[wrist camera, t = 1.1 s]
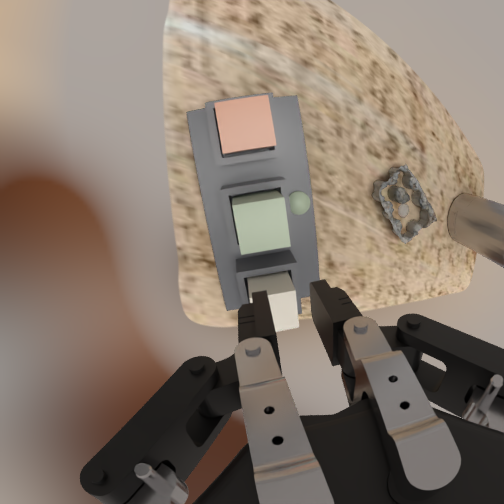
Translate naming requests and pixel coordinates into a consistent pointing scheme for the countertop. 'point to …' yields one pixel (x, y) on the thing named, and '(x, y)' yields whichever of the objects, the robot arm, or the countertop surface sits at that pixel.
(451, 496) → the robot arm
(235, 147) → the terracotta key
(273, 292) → the cream key
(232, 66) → the countertop surface
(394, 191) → the grey ruined fortress
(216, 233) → the key panel
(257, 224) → the sage key
